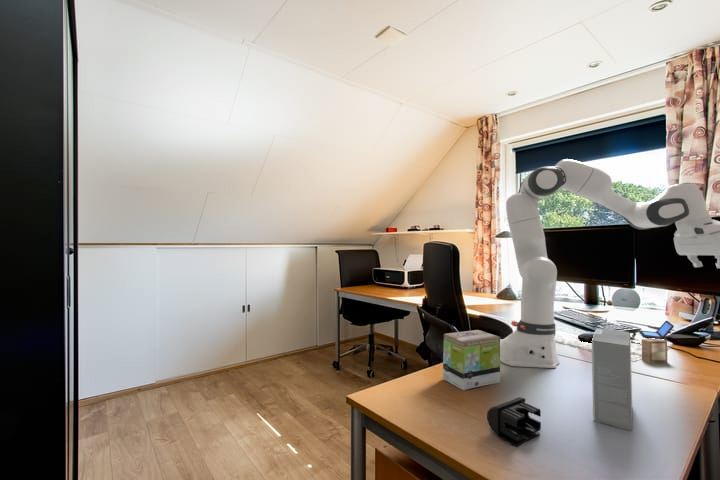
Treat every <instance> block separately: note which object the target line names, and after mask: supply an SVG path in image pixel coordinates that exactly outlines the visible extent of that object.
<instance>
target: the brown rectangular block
mask: <svg viewBox="0 0 720 480" xmlns="http://www.w3.org/2000/svg"><path fill="white" fill-rule="evenodd" d="M641 342H642V359H641V361H643V362H645V363H648V364H668V350H667V347H668V340H666V339H665V340H662V339H648V338H641Z"/></svg>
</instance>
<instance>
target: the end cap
mask: <svg viewBox="0 0 720 480" xmlns="http://www.w3.org/2000/svg"><path fill="white" fill-rule="evenodd" d="M529 413H530V414H531V415H535V416H536V417H539V418H540V417H541V415H542V414H541V408H538V407H536V406H534V405H531V404H529V403H527V402H526V398H525V397H522V396H521V397H520V396H519V397H516V398H513V399H510V400H508V401H505V402H502V403H500V404H497V405H494V406H492V407H490V408H489V409H488V410H487V413H486V420H487V424H488V425H489V428H490V429H491V431H492V432H493V433H494V434H495V435H496V437H498V439H500V440H502V441H503V442H505V443H506V444H508V445H511V446H512V447H514V448H518V447H520V446H522V445H524V444H526V443H528V442H531V441H532V440H534V439H536V438H539V437H541V435H540V434H541V432H540V430H541V427H542V426H541V425H542V424H541V423H542V422H541V421H539V420H538V419H535V418H533V417H531V416H530V414H529Z"/></svg>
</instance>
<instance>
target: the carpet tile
mask: <svg viewBox="0 0 720 480" xmlns="http://www.w3.org/2000/svg"><path fill="white" fill-rule="evenodd" d="M568 328H572V329H571V330H573V329H577V330H579V328H575V327H571V326H570V327H568ZM563 329H565V328H560V329H559V330H563ZM559 330H556V333H555V344H556V343H557V344H561V345H564V346H569V347H572V348H577V349H581V350H584V351H588V352H592V343H588V342H583V341H582V342H581V341H579V340H578V335H574V334H570V333H566V332H561V331H559ZM573 331H576V330H573ZM584 331H585V330H583V332H584ZM587 331H588V330H587ZM588 332H590V331H588ZM580 333H582V332H581V331H580ZM632 341H633V342H635V343H640V344H642V341H640V340H636V339H633V340H632ZM635 343H633V344H635ZM639 346H641V345H637V346H636V345H634V346H632V345H631V363H636V362H637V361H642V348H640V347H639ZM667 351H669V348H668V346H667Z"/></svg>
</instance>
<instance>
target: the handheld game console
mask: <svg viewBox="0 0 720 480" xmlns="http://www.w3.org/2000/svg"><path fill="white" fill-rule="evenodd" d="M674 326H675V325H674V324H672V323H671V322H670V321H669V320H665V321H664V322H663V323H662V325H661V326H659V328H658V329H657V330H655V331H648V330H639V331H638V333H639V334H640V335H641V336H642V337H643V338H644V337H645V338H644V339H648V338H655V339H665V338H666V337H667V336H668V334H670V332H671V331H672V330H673V329H674V328H675V327H674ZM665 340H666V339H665Z"/></svg>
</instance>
